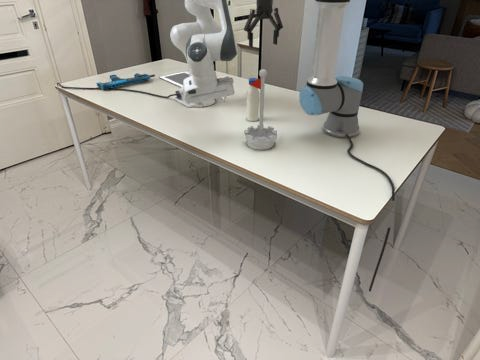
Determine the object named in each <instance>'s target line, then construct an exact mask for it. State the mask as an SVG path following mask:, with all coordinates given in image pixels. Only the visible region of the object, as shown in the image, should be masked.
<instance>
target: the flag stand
mask: <svg viewBox="0 0 480 360" xmlns="http://www.w3.org/2000/svg"><path fill="white" fill-rule="evenodd" d="M258 75H259V78H257V79H258V80H256V81H255V82H253V83H252V84H250V85H251V86H253V87H256V88H258V90H259V118H258V121H259V123H258V124H257V127H254V126H253V125H250V126H248V127H247V129H244V139H245V140H246V145H247V146H248V147H249V148H251V149H253V150H261V151H262V150H263V151H264V150H269V149H272V147H273V146H274V145H275V141H276V140H277V138H278V130H276V129H275V127H273V126H270V125H269V126H267V127H264V114H265V113H264V112H265V110H264V109H265V85H266V84H265V83H266V77H267V75H268V71H267V70H266V69H264V68H262V69H260V70H259V71H258ZM250 85H249V86H250Z"/></svg>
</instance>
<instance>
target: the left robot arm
mask: <svg viewBox="0 0 480 360" xmlns="http://www.w3.org/2000/svg"><path fill="white" fill-rule="evenodd" d="M184 8H185V10H186V12H188V13H189V14H190V15H192V16H195V18H196V21H193V22H182V23H179V24H176V25H173V26H172V28H171V29H170V33H169V35H170V41H171V43H172V45H173V46H174V47H175V48H176V49H178V50H180V51H181V53H182V54H183V56H184V57H185V59H186V64H187V70H188V71H187V72H189V76H185V77H186V78H185V79H184V80H183V86H182V87H180V88H179V90H175V92H174V93H172V94H169V95H168V96H164V95H160V94H155V93H151V92H147V91H143V90H137V89H136V90H135V89H129V88H117V87H116V88H115V89H114V88H108V89H105V90H106V91H107V90H108V91H109V90H113V91H126V92H134V93H141V94H146V95H150V96H154V97H159V98H163V99H168V98H170V97H174V96H175V98H174V100H175V101H176V102H178V103H180V104H181V105H184V106H186V107H188V108H203V107H209V106H212V105H214V104H215V103H216V100H215V99H220V101H221V103H222V104H223V103H226V98H227V97H230V96H231V97H232V96H234V94H235V88H234V78H233V77H229V76H225V77H224V76H223V77H219V78H218V76H217V73H216V70H215V64H214V62H232V61H233V60H234V59H235V58H236V56H237V55H238V50H239V47H238V41H237V38H236V36H235V33H234V29H233V23H232V19H231V15H230V11H229V6H228V3H227V0H184ZM211 10H213V11H215V12H216V13H217V14H218V17H219V22H220V23H219V22H218V21H216V19H215V18H214V16H213V14H212V12H211ZM56 86H59V87H61V88H62V89H63V88H64V89H74V90H102V89H101V88H100V87H76V86H64V85H62V84H61V83H60V82H57V83H56Z"/></svg>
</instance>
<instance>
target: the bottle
mask: <svg viewBox="0 0 480 360" xmlns="http://www.w3.org/2000/svg"><path fill="white" fill-rule="evenodd" d="M259 118H260V89H258V88H256V87H253V86H251V85H249V87H248V88H247V90H246V120H247V121H248V122H257V121H259Z"/></svg>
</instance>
